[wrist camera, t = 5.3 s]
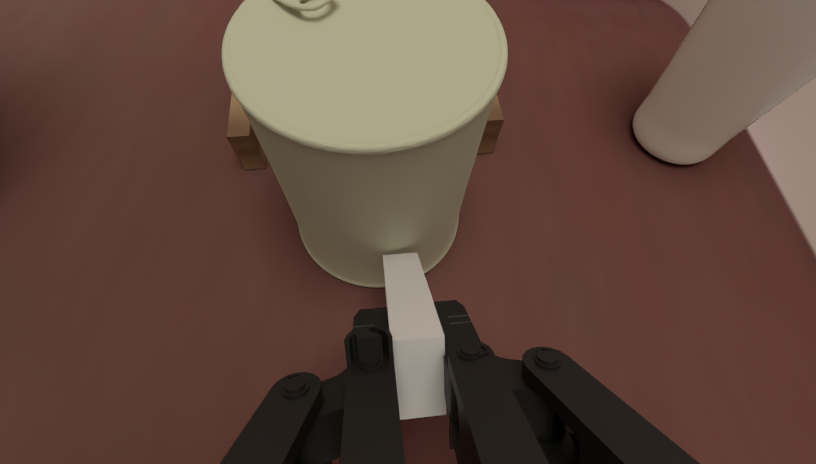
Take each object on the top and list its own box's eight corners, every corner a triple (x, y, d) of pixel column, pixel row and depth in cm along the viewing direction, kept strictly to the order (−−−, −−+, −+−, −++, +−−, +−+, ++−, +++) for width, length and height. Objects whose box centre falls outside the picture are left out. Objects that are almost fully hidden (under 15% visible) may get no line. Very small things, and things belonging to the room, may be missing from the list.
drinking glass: (669, 194, 24) (1014, -99, 11) (596, 119, 27) (800, -193, 13) (743, 153, 26) (1122, -146, 12) (667, 86, 28) (913, -222, 15)
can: (365, 126, 26) (344, -90, 15) (487, 198, 24) (564, 5, 13) (264, 228, 22) (143, 40, 11) (397, 322, 20) (400, 200, 9)
